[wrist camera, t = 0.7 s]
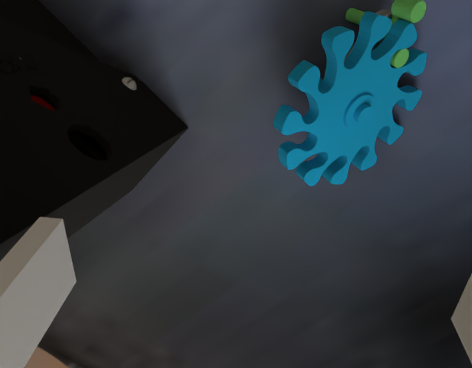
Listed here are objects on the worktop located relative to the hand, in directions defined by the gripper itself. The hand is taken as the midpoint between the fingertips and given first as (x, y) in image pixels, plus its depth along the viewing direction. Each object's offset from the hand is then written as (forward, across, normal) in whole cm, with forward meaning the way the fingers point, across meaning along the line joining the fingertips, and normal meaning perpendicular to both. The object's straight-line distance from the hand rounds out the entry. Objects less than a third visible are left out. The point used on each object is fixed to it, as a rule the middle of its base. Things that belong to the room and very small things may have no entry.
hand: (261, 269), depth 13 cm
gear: (+16, -5, -1) cm, 17 cm away
